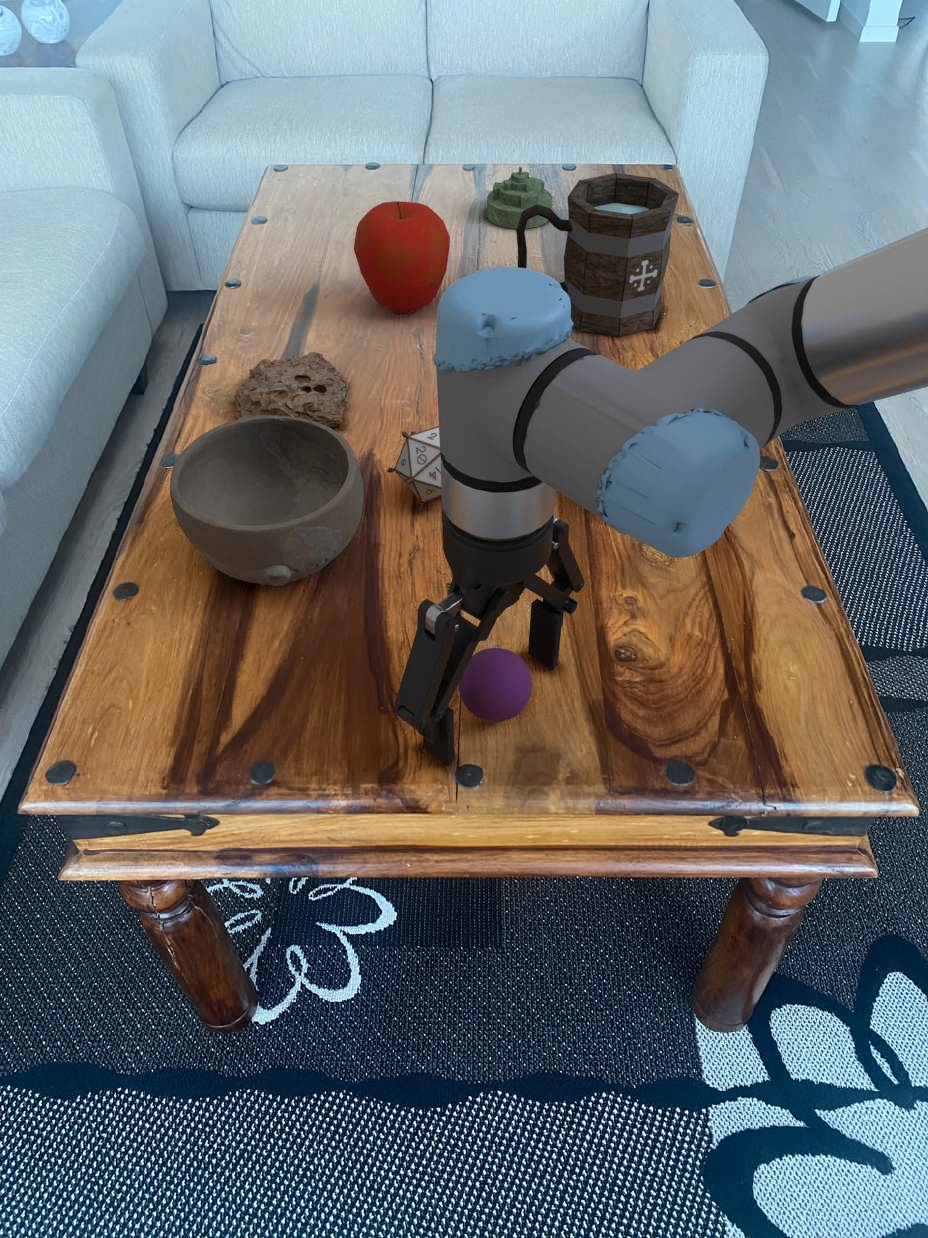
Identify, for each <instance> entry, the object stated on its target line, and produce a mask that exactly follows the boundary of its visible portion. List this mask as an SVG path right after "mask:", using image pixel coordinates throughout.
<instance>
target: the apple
mask: <svg viewBox="0 0 928 1238" xmlns="http://www.w3.org/2000/svg"><path fill="white" fill-rule="evenodd" d="M449 233H450V232H449V231H448V228H447V226H446V224H445V221H444V220H443V218H442V217H441V216H439V214H438V213H437V212H435V211H434V210H433V209H432V208H431V207H429V206H428V205H426V204H424V203H420V202H413V201H399V200H393V201H385V202H382V203H379V204H377V205H375V206H374V207H372V208H371V209H370V210H369V211H367V213H366V214H365V215H364V216H363V217H362V218H361V219H360V220H359V221H358V223H357V226H356V229H355V237H354V243H353V252H354V255H355V258H356V262H357V264H358V269H359V271H360V274H361V276H362V277H363V280H364V282H365V285H366V286H367V288H368V290H369V292H370V294H371V296H372V298H373V299H374V301H375V302H376V303H377V304H378V305H380V306H381V307H383V308H385V309H387V310H389V311H390V312H393V313H395V314H409V313H410V314H411V313H415V312H418V311H419V310H422V309H423V308H425V307H426V306H428V305H430V304H431V303H433V301H434V299H435V298H436V297H437V295H438V293H439V290H440V288H441V286H442V283H443V281H444V277H445V275H446V273H447V268H448V261H449V255H450V254H449V252H450V247H451V236H450V234H449Z"/></svg>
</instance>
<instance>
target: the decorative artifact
mask: <svg viewBox="0 0 928 1238" xmlns="http://www.w3.org/2000/svg"><path fill="white" fill-rule="evenodd" d="M536 204H539V205H542V206H545V207H548V208H550V209H551V210H552V211H553V195H552V193H550V191H548V190H546V189H545V181H544V180H542V179H540V178H537V177H534V176H530V173H529V172H528V171H523V167H522V166H520V167H518V171H516V172H511V173H510V177H509V178H508V179H503V181H501V182H499V181H495V182H494V183H493V184H492V190H490V192H489V193H488V194H487V195H486V217H487V219H488V220H489V221H490V222H491V223H492V224H494V225H496V226H499V227H502V228H505V229H514V230H516V229H517V226H518V223H519V220H520V217H521V214H522V212H523V210H525V209H527V208H529V207H532V206H534V205H536ZM548 222H550V221H549V220H548V219H546V218H544V217H542V216H539V215H537V216H535V217H532V218H530V219H528V220H527V224H526V228H525V230H526V229H532V228H537V227H541V226H543V225H544V224H546V223H548Z"/></svg>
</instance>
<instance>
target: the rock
mask: <svg viewBox="0 0 928 1238" xmlns="http://www.w3.org/2000/svg"><path fill="white" fill-rule="evenodd" d="M248 371H249V376H248V379H247V380H245V381H243V382H241V387H240V388H237V389H236V390H235V395H234V399H235V408H236V412H235V414H234V415H235V416H234V420H237V419H241V418H246V417H250V416H259V415H277V416H290V417H299V418H304V419H308V420H312V421H315V422H318V423H320V424H323V425H325V426H327V427H329V428H331V429H332V428H335V427H342V424H343V416H344V411H345V409H346V407H347V406H348V405H349V401H348V400H347V398H345V397H346V393H347V389H348V388H349V385H348V383H347V381H346V380H344V379H343V373H342V371H338V370H337V368H336V366H334V365H333V364H332V363H331V362H330V361H329V360H326V359H325V357H324V355H323V354H322V353H319V352H317V351H310V352H308V353H307V354H304V355H302V356H298V357H297V356H296V355H293V356H292V357H291V358H289V359H288V358H286V357H285V358H282V359H273V360H270V359H267V358H261V360H260V361H259V362H258V363H257V364H256V366H255V367H254V368H252V369H251V368H250V369H248Z"/></svg>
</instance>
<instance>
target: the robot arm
mask: <svg viewBox="0 0 928 1238" xmlns="http://www.w3.org/2000/svg"><path fill="white" fill-rule="evenodd" d="M573 327H574V324H573V322H572V320H571V302H570V298H569V296H568V294H567V293H566V292H565V291H564V290H563V289H562V288H561V285H560V282H559V280H557V279H555V278H553V277H552V276H550V275H548V274H547V273H543V272H541V271H538V270H535V269H530V268H527V269H525V268H518V266H496V267H488V268H483V269H478V270H476V271H473V272H471V273H470V274H468V275H466V276H464V277H460V278H458V279H455V281H454V282H452V284H450V285H449V286H448V287H447V288H446V289H445V290H444V292H443V293H442V295H441V297H440V299H439V301H438V305H437V316H436V335H435V337H436V338H435V353H434V355H433V364H434V366H435V368H436V369H435V371H436V391H437V392H436V393H437V394H436V395H437V413H438V426H439V438H440V456H441V486H442V496H441V507H442V510H441V529H442V532H441V533H442V552H443V554H444V557H445V561H446V562H447V564H448V566H449V569H450V571H451V575H452V578H451V582H450V585H449V587H448V592H447V593H448V594H447V596H446V597H444V598H442V600H440V601H439V602H437V603H435V602H433V601H432V600H431V599H428V598H425V599H423V600H422V601H421V602H420V603H419V605H418V607H417V619H416V621H417V622H416V632H415V635H414V637H413V642H412V644H411V648H410V651H409V654H408V658H407V661H406V664H405V668H404V670H403V671H404V672H403V675H402V678H401V681H400V685H399V689H398V692H397V695H396V699H395V701H394V705H393V709H392V712H393V713H394V714H395V715H396V716H398V718H400V719H401V720H403V721H404V722H406V723H407V724H408V725H409V726H411V727H412V728H413V729H415V730H416V731H417V733H418V734H419V736H421V737H422V740H423V741H422V742H423V748H424V749H425V750H426V751H428V752H429V753H431V754H432V755H433V756H435V758H437V759H439V760H440V761H441V762H442V763H444V764H445V765H446V766H448V767H449V766H451V764H453V763H454V762H455V760H456V752H455V751H456V750H455V749H456V748H455V747H456V746H455V718H454V717H455V712H454V709H452V707H450V706H449V705H450V703H451V701H452V699H453V697H454V695H455V693H456V690H457V688H458V687H459V682H460V680H461V678H462V676H463V674H464V672H465V670H466V668H467V666H468V663H469V661H470V659H471V657H472V656H473V655H474V654H475V651H476V648H477V647H478V645H479V643H480V642H485V641H487V640H488V638H489V636H490V634H491V631H492V630H493V628H494V626H495V624H496V621H497V620H498V618H499V617H500V616H501V615H502V614H503V613H504V612H505V611H506V610H507V609H508V608H510V607H512V606H514V605H515V604H516V603H517V602H518V601H520V598H521V596H522V594H523V593H524V591H525V589H526V590H528V591H530V592H532V593H533V594H535V595H537V596H538V597H539V598H541V599H542V600H541V599H539V598H535V599H534V600H533V601H532V602H531V603H530V616H529V617H530V618H529V632H528V633H529V634H528V647H527V648H528V649H527V655H528V656H530V657H531V658H533V659H534V660H535V661H537V662H538V663H540V664H542V665H543V666H545V667H546V668H547V669H549V670H550V671H553V670H555V669H556V668H557V667H558V664H559V657H560V656H559V655H560V647H561V646H560V645H561V644H560V643H561V638H562V637H561V636H562V627H563V625H564V617H565V616H564V615H565V613H566V614H568V615H570V616H571V615H573V614H574V613H575V612H576V610H577V608H578V605H579V602H578V601H577V600H575V599H574V598H571V597H570V595H571V594H572V593H573V592H574V593H579V592H580V591H582V589H583V588H584V586H585V579H584V576H583V574H582V571H581V569H580V567H579V564H578V562H577V559H576V556H575V554H574V552H573V550H572V547H571V544H570V541H569V540H570V539H569V538H570V537H569V535H570V525H569V523H568V522H566V521H565V520H562V519H560V518H559V517H557V516H555V510H556V505H557V495H558V493H559V494H561V495H563V496H564V497H566V498H567V499H569V500H570V501H572V502H574V503H575V504H577V505H578V506H580V507H581V508H583V509H585V510H586V511H588V512H590V513H591V514H592V515H594V516H595V517H597V518H599V519H600V520H602V521H603V522H604V523H605V525H606V526H608V527H610V528H611V529H612V530H614V531H616V532H617V533H618V534H622V535H624V536H626V535H628V536H630V537H632V538H633V539H635V540H637V541H639V542H641V543H643V544H645V545H647V546H649V547H650V548H652V549H653V550H656V551H658V552H660V553H662V554H663V555H665V556H668V557H672V558H677V559H678V558H681V559H683V558H688V557H692V556H696V555H697V554H700V553H702V552H703V551H705V550H707V549H708V548H710V547H711V546H712V545H714V544H715V543H716V542H717V541H718V540H720V538H721V537H722V536H723V534H724V532H725V530H726V528H727V527H728V526H729V524H730V523H732V522H734V521H735V520H736V519H737V518H738V516H739V515H740V513H741V511H742V510H743V508H744V507H745V505H746V503H747V501H748V500H749V498H750V496H751V494H752V491H753V488H754V486H755V484H756V480H757V477H758V474H759V471H760V465H761V450H763V448H765V447H766V446H767V445H769V444H770V443H771V442H773V441H775V440H776V439H777V438H778V437H780V436H781V435H782V434H784V433H786V432H787V431H789V429H791V428H793V427H795V426H797V425H799V424H801V423H804V422H807V421H809V420H813V419H818V418H820V417H825V416H828V415H832V414H836V413H839V412H842V411H845V410H849V409H852V408H853V409H854V408H856V407H860V406H862V405H865V404H868V403H873V402H876V401H879V400H880V401H881V400H884V399H888V398H891V397H895V396H899V395H902V394H906V393H910V392H913V391H917V390H921V389H925V388H928V227H926V228H923V229H920V230H918V231H916V232H914V233H912V234H909V235H906V236H905V237H904V236H903V237H902V238H900V239H897V240H895V241H892V242H891V243H888V244H886V245H883V246H881V247H878V248H876V249H874V250H872V251H869V252H867V253H865V254H862V255H860V256H857V257H855V258H853V259H850V260H848V261H846V262H844V263H841V264H838V265H837V266H835V267H832V268H830V269H827V270H825V271H823V272H822V273H821V274H819V275H805V276H800V277H797V278H794V279H791V280H789V281H786V282H783V283H780V284H777V285H776V286H774V287H772V288H770V289H768V290H766V291H763V292H761V293H759V294H758V295H756V296H755V297H753V298H751V299H750V300H749V301H748V302H747V303H746V304H745V305H744V306H742V307H741V308H740V309H738V310H736V311H735V312H733V313H731V314H730V315H728V316H727V317H725V318H723V319H722V320H720V321H719V322H717V323H716V324H714V325H712V326H710V327H709V328H707V329H706V330H704V331H702V332H701V333H699V334H696V335H694V336H692V337H691V338H690V339H688V340H687V341H685V342H683V343H682V344H680V345H678V346H676V347H675V348H673V349H671V350H669V351H668V352H666V353H665V354H663V355H662V356H659V357H657V358H656V359H654V360H653V361H651V362H650V363H648V364H646V365H644V366H643V367H641V368H639V369H636V370H632V369H630V368H628V367H626V366H624V365H622V364H620V363H618V362H616V361H613V360H611V359H610V358H608V357H605V356H604V355H601V354H599V353H597V352H595V351H593V350H592V349H590V348H589V347H586V346H585V345H582V344H580V343H578V342H576V341H574V340H573V339H572V337H571V334H572V330H573ZM545 566H546V568H547V570H548V572H549V575H550V576H551V578H552V579H553V580H552V581H551V583H549V582H547V581H546V580H545V579H544V578H542V577H541V576H539V575H537V573H539V572H540V571H541V570H542V569H543V568H544V567H545ZM462 611H463V612H464V613H466V614H468V615H469V616H472V617H473V618H475V619H476V620H478V621H479V623H478V624H477V625H476V624H474V623H473V622H471V621H470V620H469V619H467V618H465V617H463V616H462Z"/></svg>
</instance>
